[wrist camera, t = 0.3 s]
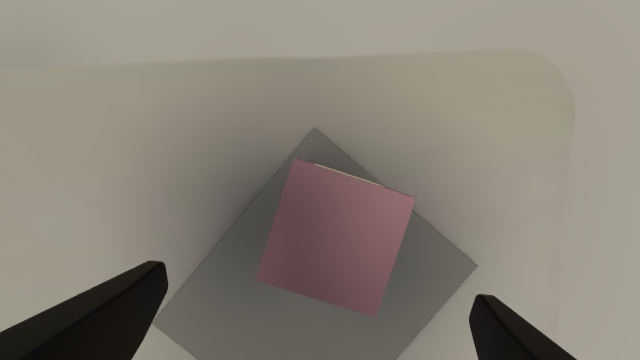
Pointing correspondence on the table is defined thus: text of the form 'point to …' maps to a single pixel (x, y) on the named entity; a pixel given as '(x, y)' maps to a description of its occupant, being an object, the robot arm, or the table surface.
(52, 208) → the table surface
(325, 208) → the pink box
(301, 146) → the mat
